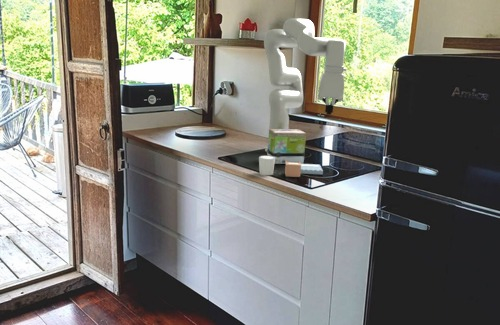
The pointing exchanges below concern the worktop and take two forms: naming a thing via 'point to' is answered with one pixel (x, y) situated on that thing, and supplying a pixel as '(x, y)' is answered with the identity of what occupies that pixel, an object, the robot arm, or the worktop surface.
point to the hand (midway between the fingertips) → (328, 114)
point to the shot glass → (266, 165)
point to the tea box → (286, 145)
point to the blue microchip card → (311, 169)
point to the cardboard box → (293, 169)
